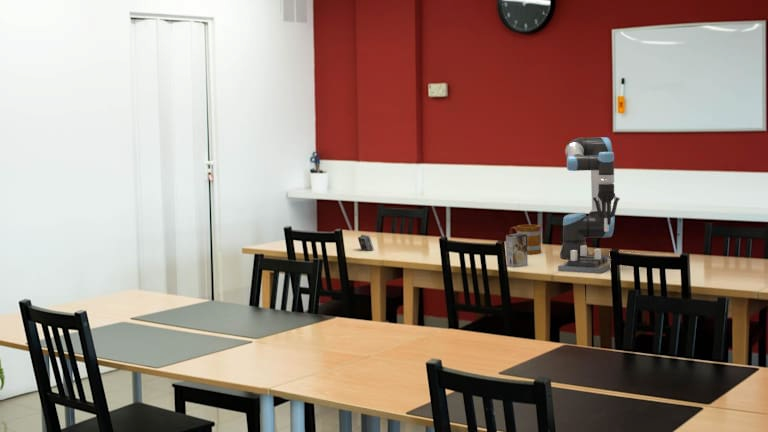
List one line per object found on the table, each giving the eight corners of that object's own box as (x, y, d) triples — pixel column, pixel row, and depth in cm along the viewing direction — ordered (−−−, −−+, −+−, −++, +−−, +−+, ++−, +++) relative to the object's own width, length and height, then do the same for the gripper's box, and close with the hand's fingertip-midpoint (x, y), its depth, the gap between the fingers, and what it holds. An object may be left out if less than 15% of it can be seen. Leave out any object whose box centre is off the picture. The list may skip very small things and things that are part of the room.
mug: (546, 252, 563) (546, 225, 562) (531, 255, 554) (531, 228, 552) (517, 249, 577) (517, 223, 576) (502, 252, 568) (502, 225, 566)
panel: (574, 262, 528) (574, 254, 527) (616, 264, 517) (616, 256, 517) (558, 271, 505) (558, 262, 504) (601, 273, 495) (601, 264, 494)
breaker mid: (596, 258, 510) (596, 248, 510) (601, 258, 509) (601, 248, 508) (594, 259, 508) (594, 249, 507) (599, 259, 506) (599, 249, 506)
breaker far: (582, 255, 522) (582, 245, 521) (586, 255, 520) (586, 245, 520) (580, 255, 519) (580, 246, 518) (585, 256, 518) (585, 246, 517)
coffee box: (520, 263, 530) (520, 232, 528) (527, 265, 524) (527, 234, 522) (505, 265, 525) (505, 234, 523) (513, 267, 520) (512, 235, 518)
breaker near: (572, 259, 508) (572, 249, 507) (577, 260, 507) (577, 250, 506) (570, 260, 505) (570, 250, 504) (575, 261, 504) (575, 251, 503)
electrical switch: (374, 250, 588) (372, 235, 586) (366, 252, 585) (364, 236, 584) (366, 248, 596) (364, 233, 594) (358, 250, 593) (356, 235, 592)
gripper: (590, 183, 501) (591, 231, 504) (616, 184, 495) (617, 232, 497) (595, 182, 508) (596, 229, 510) (621, 183, 501) (621, 230, 504)
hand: (606, 231), depth 504 cm, fingers closed
